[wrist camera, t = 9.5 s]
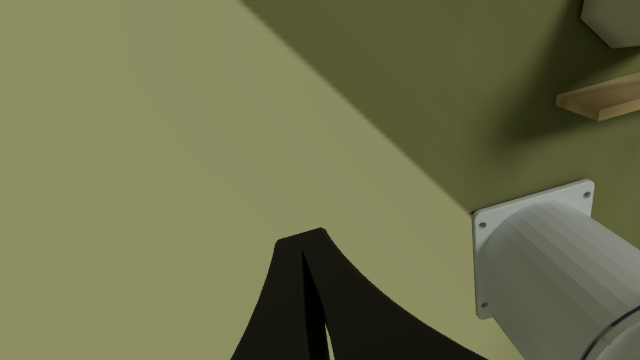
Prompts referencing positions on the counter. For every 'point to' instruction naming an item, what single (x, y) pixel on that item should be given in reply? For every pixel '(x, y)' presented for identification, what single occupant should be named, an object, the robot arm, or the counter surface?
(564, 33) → the counter surface
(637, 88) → the oak frame
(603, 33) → the flask
